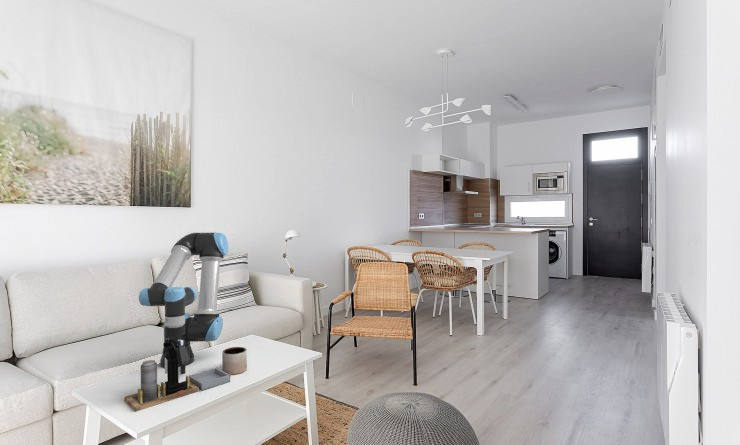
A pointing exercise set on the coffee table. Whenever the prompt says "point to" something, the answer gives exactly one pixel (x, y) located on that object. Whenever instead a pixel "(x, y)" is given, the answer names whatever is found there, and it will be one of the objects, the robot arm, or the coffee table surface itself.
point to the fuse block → (154, 389)
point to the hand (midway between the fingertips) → (175, 377)
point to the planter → (234, 360)
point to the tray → (209, 379)
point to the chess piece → (172, 372)
